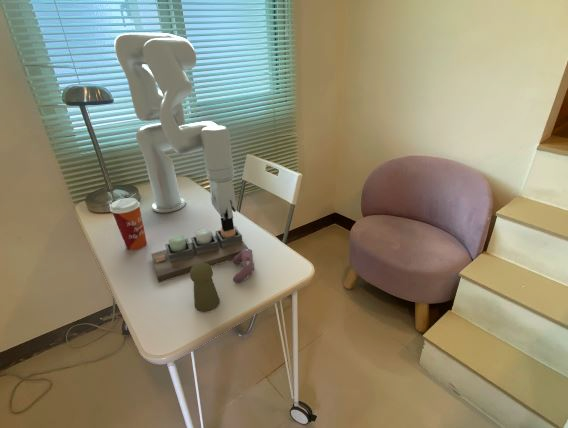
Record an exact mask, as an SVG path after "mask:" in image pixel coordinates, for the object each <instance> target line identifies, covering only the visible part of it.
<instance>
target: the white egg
mask: <svg viewBox="0 0 568 428" xmlns="http://www.w3.org/2000/svg"><path fill="white" fill-rule="evenodd" d="M194 233H195V234H194V235H195V237H196V241H197V244H198V245H205V244H209V243H211V242H212V237H211V230H210V229H208V228H201V229H198V230H196V231H195V232H194Z"/></svg>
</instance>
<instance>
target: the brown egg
mask: <svg viewBox="0 0 568 428" xmlns="http://www.w3.org/2000/svg"><path fill="white" fill-rule="evenodd" d="M235 227H236V226H235ZM235 227H234V229H232V230H229V231H223V229H222V227H221V228H220V230H221V237H222V239H226V238H230V237H233V236H236V232H235Z"/></svg>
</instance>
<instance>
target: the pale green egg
mask: <svg viewBox="0 0 568 428" xmlns="http://www.w3.org/2000/svg"><path fill="white" fill-rule="evenodd" d="M185 239H186V237H185V236H184V235H174V236H171V237H170V238H169V240H168V244H170V248H171V251H172V252H174V253H177V252H180V251H184V250H185V249H186V248H187V246H186V241H185Z"/></svg>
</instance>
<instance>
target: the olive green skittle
mask: <svg viewBox="0 0 568 428" xmlns="http://www.w3.org/2000/svg"><path fill="white" fill-rule="evenodd" d="M212 267H213V266H210V265H209V264H207V263H198V264H196V265H194V266H193V267H192V268H191V270H190V273H189V278H190V280H191V281H192V282H193V299H194V308H195V310H196V311H198V313H199V312H200V313H210V312H212V311H214V310H216V309H217V308H218V306H220V303H221V301H220V296H219V294H218V291H217V288H216V286H215V283H214V280H213V278H212V277H213V275H214V269H213V268H212Z"/></svg>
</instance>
